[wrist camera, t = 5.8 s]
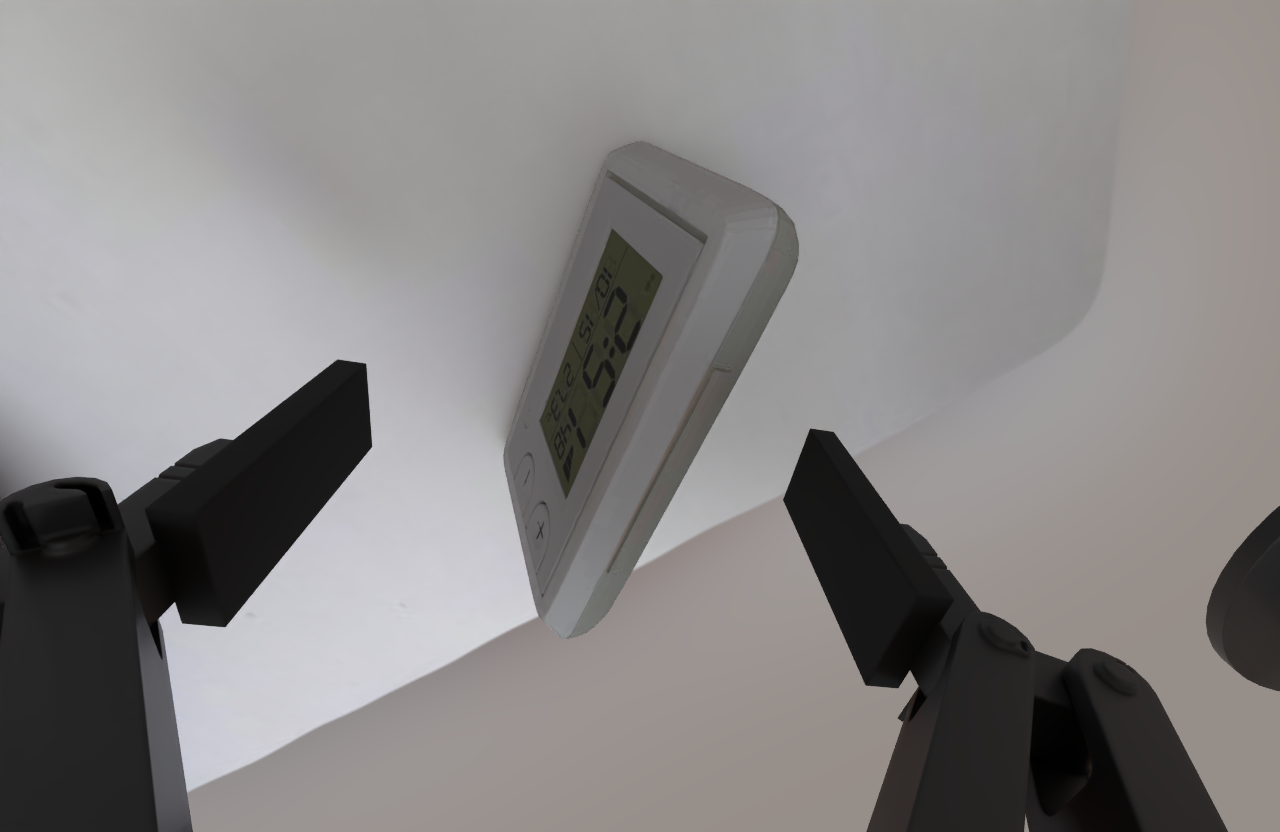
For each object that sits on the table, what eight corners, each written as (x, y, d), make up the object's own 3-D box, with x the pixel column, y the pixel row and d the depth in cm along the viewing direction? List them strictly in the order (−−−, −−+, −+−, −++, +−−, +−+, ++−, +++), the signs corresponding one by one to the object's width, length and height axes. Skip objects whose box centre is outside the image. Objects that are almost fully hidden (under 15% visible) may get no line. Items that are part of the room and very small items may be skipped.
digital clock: (633, 113, 20) (638, 87, 10) (807, 249, 22) (936, 327, 13) (452, 422, 26) (352, 582, 17) (604, 502, 28) (593, 680, 19)
